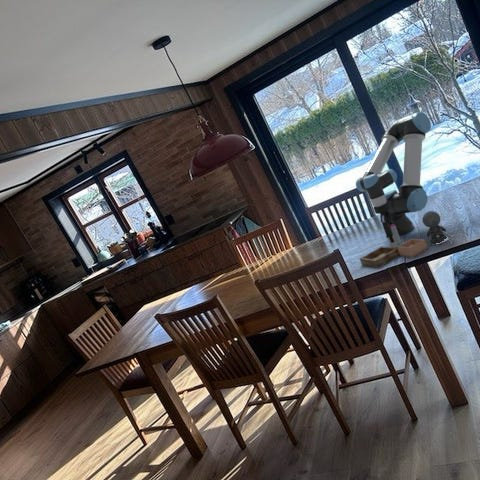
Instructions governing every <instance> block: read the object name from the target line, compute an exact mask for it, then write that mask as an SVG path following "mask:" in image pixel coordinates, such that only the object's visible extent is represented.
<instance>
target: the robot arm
mask: <svg viewBox="0 0 480 480" xmlns="http://www.w3.org/2000/svg"><path fill="white" fill-rule="evenodd" d="M431 127H432V124H431V120H430V118H429V117H428V115H427V114H426V113H425V112H422V111H418V112H414V113H413V112H412V113H411V114H409V115H407V116H404V117H402V118H399V119H396V120H395V121H394V122H392V123H391V125H389V126H388V128H387V129H386V130H385V132H384V134H383V136H382V137H381V143H380V145H379V146H378V148H377V150H376V152H375V154H374V155H373V157H372V158H371V159H372V160H371V162H370V163H369V165H368V167H367V168H366V170H365V172H364V174H363V176H362V177H359V178H358V179H356V182H355V187H356V190H358V191H359V192H366V194H367V195H368V198H369V199H370V201H369V203H371V206H373V211H374V213H375V214H376V215H380V216H379V218H380V222H381V224H382V228H383V230H385V231H384V233H385V237H386V239H387V237H388V238H389V241H390V243H391V246H392V247H393V248H396V247H398V245H397V243H396V240H395V237H394V235H393V234H392V231H391V227H390V225H392V224H394V225H395V226H396V229H397V231H398V234H399V236H402V235H405V234H407V233H408V232H411V231H412V230H414V227H415V226H414V224H413V222H412V220H411V219H410V218H409V217H408V216H407V214H409V213H417V212H421V211H422V210H424V208H426V206H427V203H428V195H427V191H426V190H425V189H424V187H423V185H422V184H421V171H422V170H421V169H422V152H423V151H422V150H423V142H424V141H425V139H426V136H427V135H426V134H427V133H429V131H431ZM401 141H403V142H404V153H403V154H404V158H403V159H404V160H403V172H402V173H403V175H402V177H403V178H402V184H401V185H400V186H399V189H398V190H397V189H393V190H389V192H385V191H384V190H385V189H386V188H388V187H390V186H392V185H393V184H394V183H396V182H397V180H398V175H397V172H396V171H395V170H394V169H392V168H389V169H387V170H384V168H385V166H386V165H387V163H388V160H389V159H390V157H391V155H392V153H393V152H394V149H395V148H396V147H398V146H399V143H401ZM383 170H384V171H383ZM398 191H399V192H398Z"/></svg>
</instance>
